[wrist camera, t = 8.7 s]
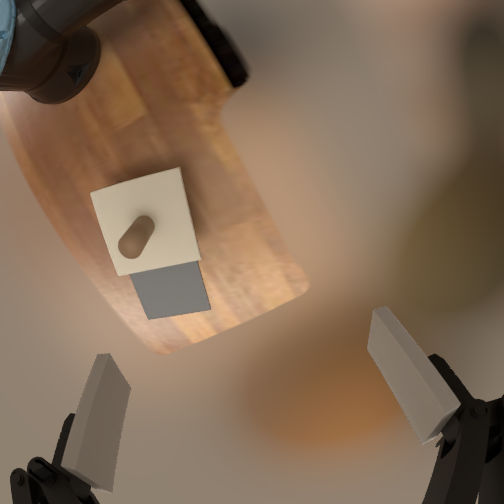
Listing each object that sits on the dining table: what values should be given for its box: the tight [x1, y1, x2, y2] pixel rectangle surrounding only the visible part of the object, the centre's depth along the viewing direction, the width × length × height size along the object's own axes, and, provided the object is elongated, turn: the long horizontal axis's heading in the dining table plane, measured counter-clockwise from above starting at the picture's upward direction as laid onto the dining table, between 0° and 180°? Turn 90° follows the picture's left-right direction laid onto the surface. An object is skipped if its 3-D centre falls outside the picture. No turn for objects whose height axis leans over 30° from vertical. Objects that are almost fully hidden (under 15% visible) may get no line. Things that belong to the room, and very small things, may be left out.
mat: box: [130, 261, 211, 320], centre depth 50 cm, size 13×13×1 cm
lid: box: [90, 167, 201, 276], centre depth 33 cm, size 13×13×8 cm
